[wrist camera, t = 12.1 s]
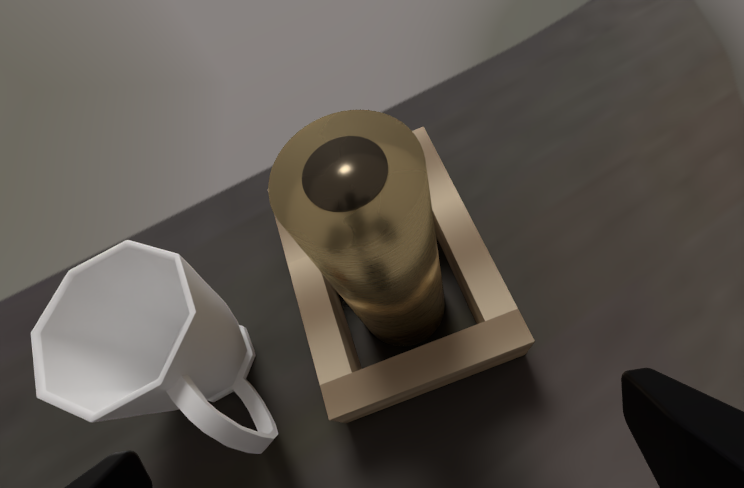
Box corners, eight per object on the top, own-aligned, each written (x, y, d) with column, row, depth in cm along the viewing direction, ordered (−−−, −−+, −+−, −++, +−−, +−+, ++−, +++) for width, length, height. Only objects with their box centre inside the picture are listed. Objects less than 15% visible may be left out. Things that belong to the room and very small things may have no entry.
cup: (224, 274, 26) (131, 208, 19) (345, 387, 22) (286, 359, 14) (135, 368, 24) (-3, 336, 17) (246, 508, 20) (126, 543, 13)
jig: (525, 354, 21) (540, 333, 17) (346, 423, 21) (319, 418, 17) (427, 158, 26) (421, 108, 22) (287, 214, 27) (256, 175, 23)
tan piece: (462, 304, 22) (461, 164, 11) (400, 364, 22) (333, 280, 10) (404, 250, 24) (352, 84, 13) (345, 304, 23) (238, 178, 12)
